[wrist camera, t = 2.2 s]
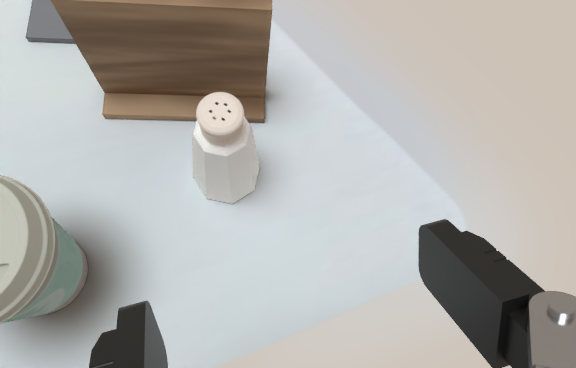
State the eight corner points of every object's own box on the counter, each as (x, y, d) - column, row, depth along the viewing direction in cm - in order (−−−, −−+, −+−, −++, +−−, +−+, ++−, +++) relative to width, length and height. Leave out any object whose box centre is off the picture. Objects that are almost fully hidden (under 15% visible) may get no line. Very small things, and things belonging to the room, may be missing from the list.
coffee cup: (-37, 318, 32) (-189, 311, 21) (14, 204, 35) (-96, 143, 24) (82, 347, 32) (-5, 357, 21) (124, 232, 35) (66, 185, 24)
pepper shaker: (234, 217, 36) (230, 172, 26) (179, 180, 37) (153, 120, 26) (273, 164, 38) (284, 102, 27) (219, 129, 38) (209, 54, 28)
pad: (113, 44, 40) (111, 40, 39) (29, 41, 39) (25, 37, 39) (121, -22, 42) (119, -27, 41) (40, -26, 41) (38, -31, 41)
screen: (263, 122, 39) (272, 36, 28) (105, 118, 38) (45, 27, 26) (263, 70, 40) (271, -32, 29) (111, 65, 39) (57, -44, 28)
